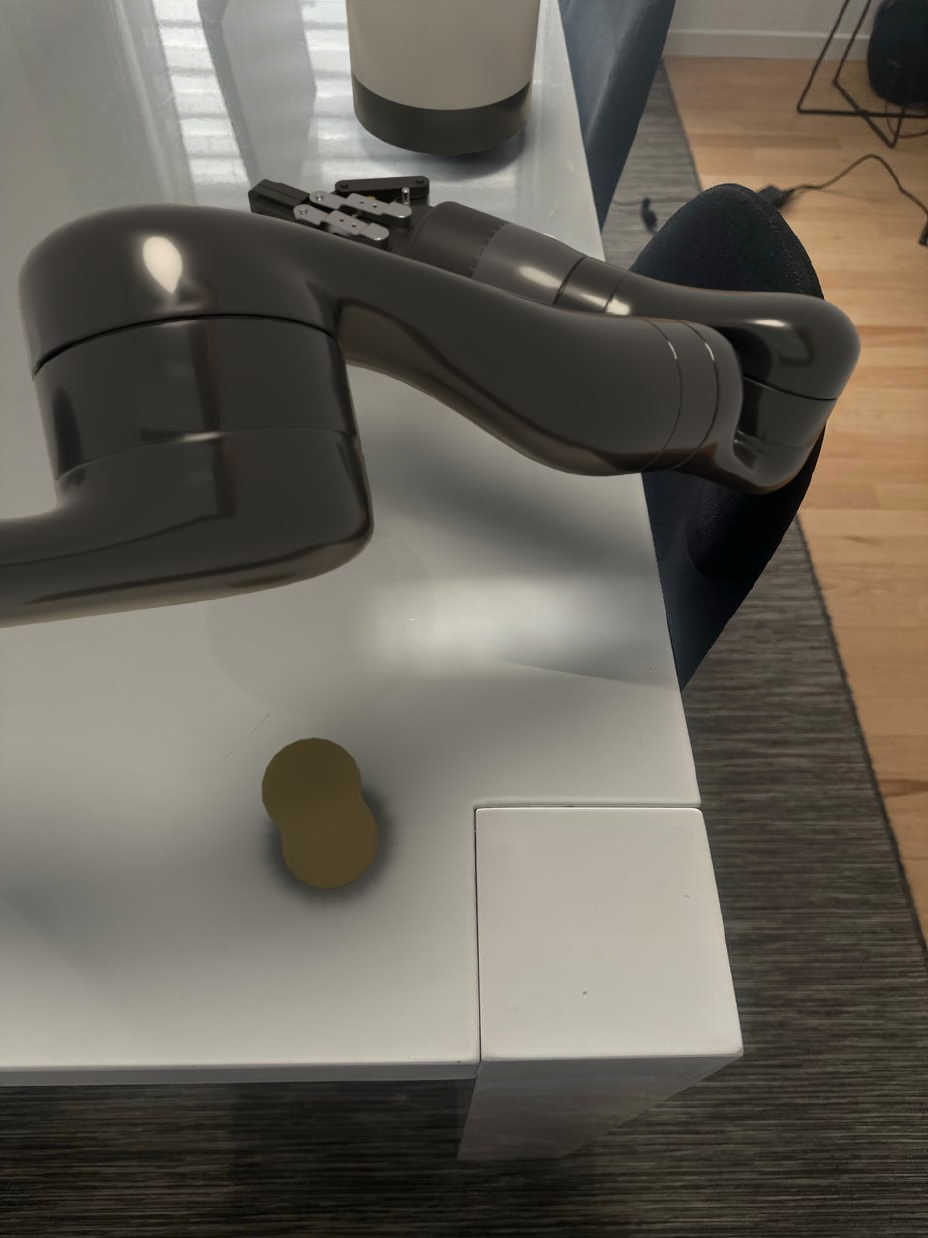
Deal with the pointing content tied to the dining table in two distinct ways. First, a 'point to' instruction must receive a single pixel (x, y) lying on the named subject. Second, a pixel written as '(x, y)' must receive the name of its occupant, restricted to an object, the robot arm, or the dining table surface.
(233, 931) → the dining table surface
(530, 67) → the planter
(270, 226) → the robot arm
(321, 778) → the cork
